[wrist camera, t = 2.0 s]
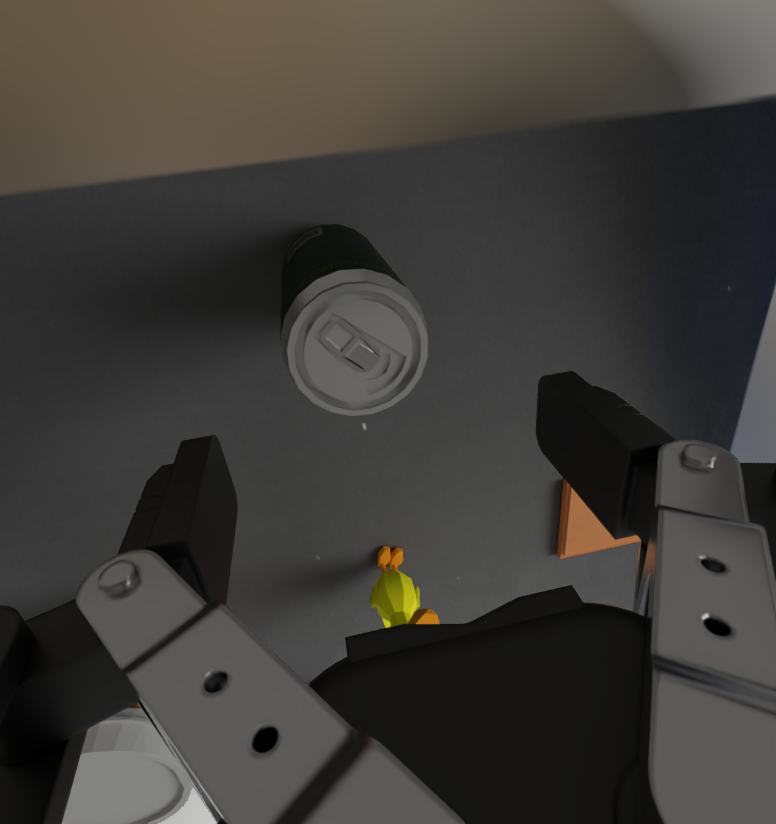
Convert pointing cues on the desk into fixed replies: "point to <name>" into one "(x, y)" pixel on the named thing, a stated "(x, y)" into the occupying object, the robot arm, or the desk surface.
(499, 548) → the desk surface
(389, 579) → the toy figure
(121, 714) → the disposable coffee cup
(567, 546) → the orange square panel
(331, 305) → the beer can
